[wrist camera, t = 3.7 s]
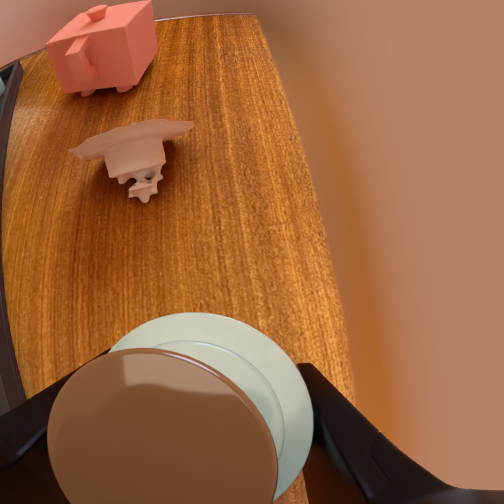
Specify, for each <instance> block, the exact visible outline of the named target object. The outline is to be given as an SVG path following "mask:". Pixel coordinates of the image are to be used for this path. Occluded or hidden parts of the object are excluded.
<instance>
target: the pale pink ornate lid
mask: <svg viewBox="0 0 504 504" xmlns="http://www.w3.org/2000/svg"><path fill="white" fill-rule="evenodd" d="M192 122H194V121H175V120H167V119H162V118H161V119H150V120H145V121H142V122H140V123H133V124H131V125H129V126H123V127H116V128H113V129H111V130H109V131H107V132H105V133H101V134H98V135H94V136H93V137H89V138H87V139H86V140H85V141H84V142H83V143H82V144H80V145H79V146H77V147H75V148H73V149H68V150H69V151H68V150H67V151H68V152H71V153H73V154H75V155H76V156H77V157H78V158H79V159H81V160H90V159H98V158H103V157H105V158H104V160H105V163H106V167H107V169H108V174H109V178H114V177H116V178H117V179H118V183H119V184H124V183H126V181H127V180H128V179H129V178H135V179H136V180H137V182H136V183H135V184H133V186H131V187H130V188H129V190H128V191H129V196H128V197H129V198H130V197H131V198H132V197H135V196H136V197H138V198H139V199H140V200H141V201H142V202H143V203H147V202H148V201H149V198H150V196H151V195H152V194H156V193H157V192H158V190H157V182H158V181H159V180H161V179H163V176H162V175H161V174H160V171H161V168H162V166H163V165H164V164H165V163H166V160H165V152H164V149H163V144H162V141H165V140H169V139H172V138H175V137H178V136H181V135H183V134H184V133H185V132H187V131H188V130H190V129H191V128H192V127H194V126H195V125H197V124H194V123H192ZM151 177H153V178H152V179H151V180H146V179H145V178H151ZM142 181H143V182H145V183H143V182H142ZM134 185H136V186H134Z"/></svg>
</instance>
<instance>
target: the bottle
mask: <svg viewBox="0 0 504 504" xmlns="http://www.w3.org/2000/svg"><path fill="white" fill-rule="evenodd" d="M313 428H314V422H313V409H312V404H311V399H310V396H309V393H308V390H307V387H306V384H305V382H304V380H303V378H302V376H301V374H300V372H299V370H298V369H297V367H296V366H295V364H294V363H293V361H292V360H291V359H290V358H289V356H288V355H287V354H286V353H285V352H284V351H283V350H282V348H280V347H279V346H278V345H277V344H276V343H275V342H274V341H273V340H271V339H270V338H269V337H267V336H266V335H264V334H263V333H262V332H260V331H259V330H257V329H255V328H253V327H251V326H249V325H247V324H246V323H243V322H241V321H238V320H235V319H233V318H230V317H226V316H222V315H218V314H211V313H203V312H186V313H177V314H171V315H167V316H163V317H159V318H156V319H154V320H151V321H149V322H146V323H144V324H142V325H140V326H139V327H137V328H135V329H133V330H132V331H131V332H129V333H128V334H127V335H125V336H124V337H123V338H122V339H120V340H119V341H118V342H117V343H116V344H115V345H114V346H113V347H112V349H111V350H110V351H109V352H108V354H105V355H102V356H99V357H98V358H96V359H94V360H92V361H90V362H88V363H87V364H85V365H84V366H83V367H81V368H80V369H79V370H77V371H76V372H75V373H74V374H73V375H72V376H71V377H70V378H69V379H68V380H67V382H66V383H65V384H64V386H63V387H62V389H61V390H60V391H59V393H58V395H57V397H56V399H55V401H54V404H53V406H52V409H51V412H50V416H49V421H48V428H47V445H48V454H49V459H50V463H51V467H52V470H53V473H54V476H55V478H56V480H57V482H58V484H59V487H60V489H61V490H62V492H63V494H64V495H65V497H66V498H67V500H68V502H69V503H70V504H272V502H273V501H275V500H276V499H277V498H279V497H280V496H281V495H282V494H283V493H284V492H285V491H286V490H287V489H288V488H289V487H290V486H291V484H292V483H293V482H294V481H295V479H296V478H297V476H298V475H299V473H300V472H301V470H302V468H303V466H304V464H305V462H306V459H307V457H308V455H309V451H310V447H311V443H312V438H313Z"/></svg>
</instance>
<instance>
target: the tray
mask: <svg viewBox="0 0 504 504" xmlns="http://www.w3.org/2000/svg"><path fill="white" fill-rule="evenodd" d="M22 74H23V69H22V66H21V64H20V62H19V60H18V61H16V62H14V63H12V64H11V65H9V66H7V67H6V68H4V69H2V70H1V71H0V77H1V79H2V81H3V83H4V85H5V91H4V93H3V94H2V95H1V97H0V416H1V415H3V414H4V413H6V412H8V411H10V410H12V409H13V408H15V407H17V406H19V405H20V404H22V403H23V402H25V401H27V399H26V396H25V392H24V389H23V385H22V382H21V378H20V374H19V370H18V366H17V362H16V358H15V353H14V348H13V344H12V338H11V333H10V327H9V321H8V315H7V308H6V300H5V291H4V281H3V268H2V249H1V210H2V190H3V177H4V167H5V158H6V151H7V144H8V137H9V131H10V126H11V120H12V115H13V111H14V106H15V102H16V97H17V93H18V89H19V85H20V82H21V78H22Z"/></svg>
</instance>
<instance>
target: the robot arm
mask: <svg viewBox="0 0 504 504" xmlns="http://www.w3.org/2000/svg"><path fill="white" fill-rule="evenodd" d="M111 349H112V348H109V349H107V350H106V351H104V352H103V353H101V354H100V355H98V356H96V357H95V358H93V359H92V360H94V359H96V358H98V357H99V356H102V355H105V354H108V352H109V351H110V350H111ZM92 360H90V361H92ZM90 361H89V362H90ZM87 363H88V362H87ZM87 363H85V364H87ZM85 364H84V365H85ZM84 365H82V366H81V367H83V366H84ZM81 367H79V368H77V369H76V370H74V371H73V372H71V373H70V374H68V375H66V376H65V377H63V378H62V379H60V380H59V381H57V382H55V383H54V384H52V385H51V386H49V387H47V388H46V389H44V390H43V391H41V392H40V393H38V394H36V395H35V396H33V397H32V398H31V399H28V400H27V401H25V402H23V403H22V404H20V405H19V406H17V407H15V408H13V409H12V410H10V411H8V412H6V413H4V414H3V415H1V416H0V504H70V503H69V502H68V500H67V498H66V497H65V495H64V494H63V492H62V490H61V489H60V487H59V484H58V482H57V480H56V478H55V476H54V473H53V470H52V467H51V463H50V459H49V454H48V445H47V428H48V421H49V416H50V412H51V409H52V406H53V404H54V401H55V399H56V397H57V395H58V393H59V391H60V390H61V389H62V387H63V386H64V384H65V383H66V382H67V380H68V379H69V378H70V377H71V376H72V375H73V374H74V373H75V372H76V371H77V370H79V369H80V368H81ZM296 367H297V369H298V370H299V372H300V374H301V376H302V378H303V380H304V382H305V384H306V387H307V390H308V393H309V396H310V399H311V404H312V409H313V422H314V428H313V438H312V443H311V447H310V451H309V455H308V457H307V459H306V462H305V464H304V466H303V468H302V470H303V475H304V480H305V486H306V491H307V496H308V502H309V504H504V490H503V491H502V490H476V489H462V488H457V487H453V486H451V485H448V484H446V483H444V482H443V481H441V480H440V479H438V478H437V477H435V476H434V475H433V474H431V473H430V472H428V471H427V470H425V469H424V468H423V467H421V466H420V465H419V464H417V463H416V462H415V461H413V460H412V459H411V458H409V457H408V456H407V455H405V454H404V453H403V452H402V451H400V450H399V449H398V448H397V447H396V446H395V445H394V444H392V443H391V442H390V441H389V440H388V439H387V438H386V437H385V436H384V435H383V434H382V433H381V432H378V429H377V428H375V427H374V426H373V425H372V424H371V423H370V422H369V421H368V420H367V419H366V418H365V417H364V416H363V415H362V414H361V413H360V412H359V411H358V410H357V409H356V408H355V407H354V406H353V405H352V404H351V403H350V402H349V401H348V400H347V399H346V398H345V397H344V396H343V395H342V394H341V393H340V392H339V391H338V390H337V389H336V388H335V387H334V386H333V385H332V384H331V383H330V382H329V381H328V380H327V379H326V378H325V377H324V376H323V375H322V374H321V373H320V372H319V371H318V370H317V368H316V367H315V366H314V365H313V364H311V363H298V364H297V366H296Z"/></svg>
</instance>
